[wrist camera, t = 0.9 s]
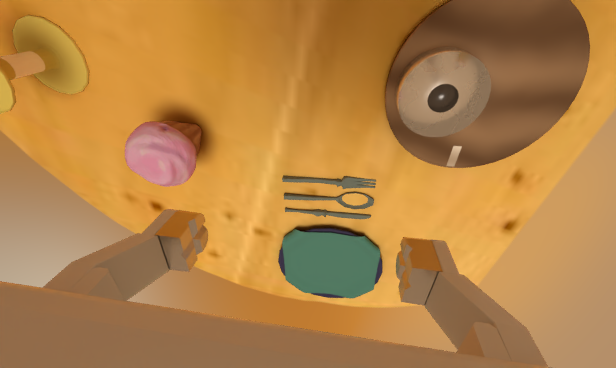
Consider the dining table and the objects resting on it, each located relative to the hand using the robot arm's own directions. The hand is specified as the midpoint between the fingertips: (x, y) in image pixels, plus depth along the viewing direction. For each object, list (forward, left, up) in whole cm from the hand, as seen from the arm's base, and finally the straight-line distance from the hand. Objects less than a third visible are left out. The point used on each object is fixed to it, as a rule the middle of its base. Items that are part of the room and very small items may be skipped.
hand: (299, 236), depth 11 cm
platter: (+1, +16, -27) cm, 32 cm away
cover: (+1, +11, -26) cm, 28 cm away
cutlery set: (+30, +1, -28) cm, 41 cm away
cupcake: (+10, -22, -28) cm, 37 cm away
